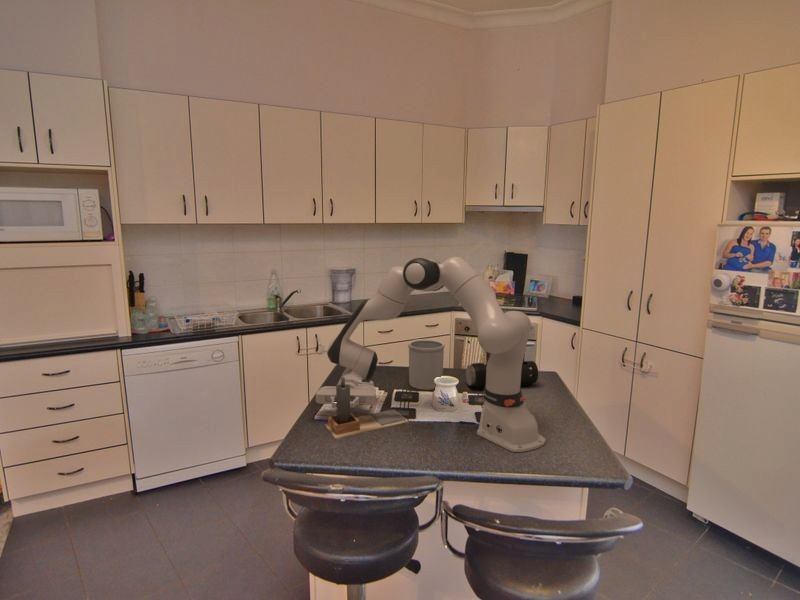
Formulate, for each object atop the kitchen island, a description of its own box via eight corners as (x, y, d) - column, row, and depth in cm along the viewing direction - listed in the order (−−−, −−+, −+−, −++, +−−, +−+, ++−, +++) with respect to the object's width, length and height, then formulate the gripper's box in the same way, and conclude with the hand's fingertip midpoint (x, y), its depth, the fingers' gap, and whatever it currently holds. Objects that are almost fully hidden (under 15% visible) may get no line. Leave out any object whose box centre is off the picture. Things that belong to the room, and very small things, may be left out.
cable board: (408, 425, 158) (409, 413, 157) (335, 443, 146) (335, 429, 145) (394, 413, 168) (394, 401, 167) (324, 428, 156) (323, 415, 155)
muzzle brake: (537, 388, 191) (539, 364, 189) (471, 392, 187) (472, 368, 185) (527, 380, 200) (529, 357, 198) (464, 384, 196) (465, 360, 194)
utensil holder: (408, 377, 203) (408, 338, 200) (442, 377, 202) (443, 338, 199) (406, 390, 189) (407, 348, 185) (444, 391, 188) (445, 349, 184)
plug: (352, 428, 152) (352, 379, 149) (339, 431, 150) (338, 381, 147) (347, 422, 156) (346, 374, 153) (335, 425, 154) (333, 377, 151)
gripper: (319, 379, 164) (310, 395, 151) (377, 381, 163) (374, 396, 150) (320, 396, 165) (311, 413, 152) (377, 398, 165) (374, 415, 151)
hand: (343, 405), depth 151 cm, fingers closed on plug, 4 cm apart
